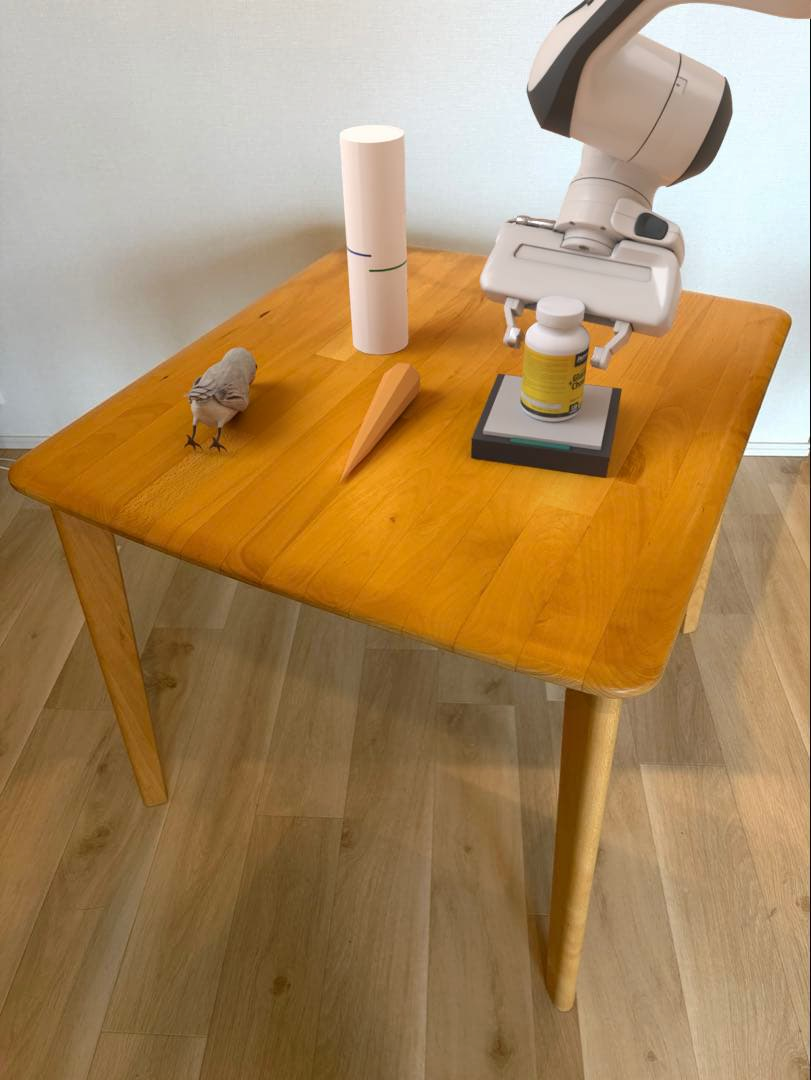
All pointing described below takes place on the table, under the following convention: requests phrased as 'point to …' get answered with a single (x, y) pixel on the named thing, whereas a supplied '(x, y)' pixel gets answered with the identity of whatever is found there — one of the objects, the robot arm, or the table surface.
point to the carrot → (384, 410)
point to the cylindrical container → (376, 236)
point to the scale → (547, 431)
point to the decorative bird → (222, 392)
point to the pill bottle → (555, 360)
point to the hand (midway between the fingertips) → (553, 356)
